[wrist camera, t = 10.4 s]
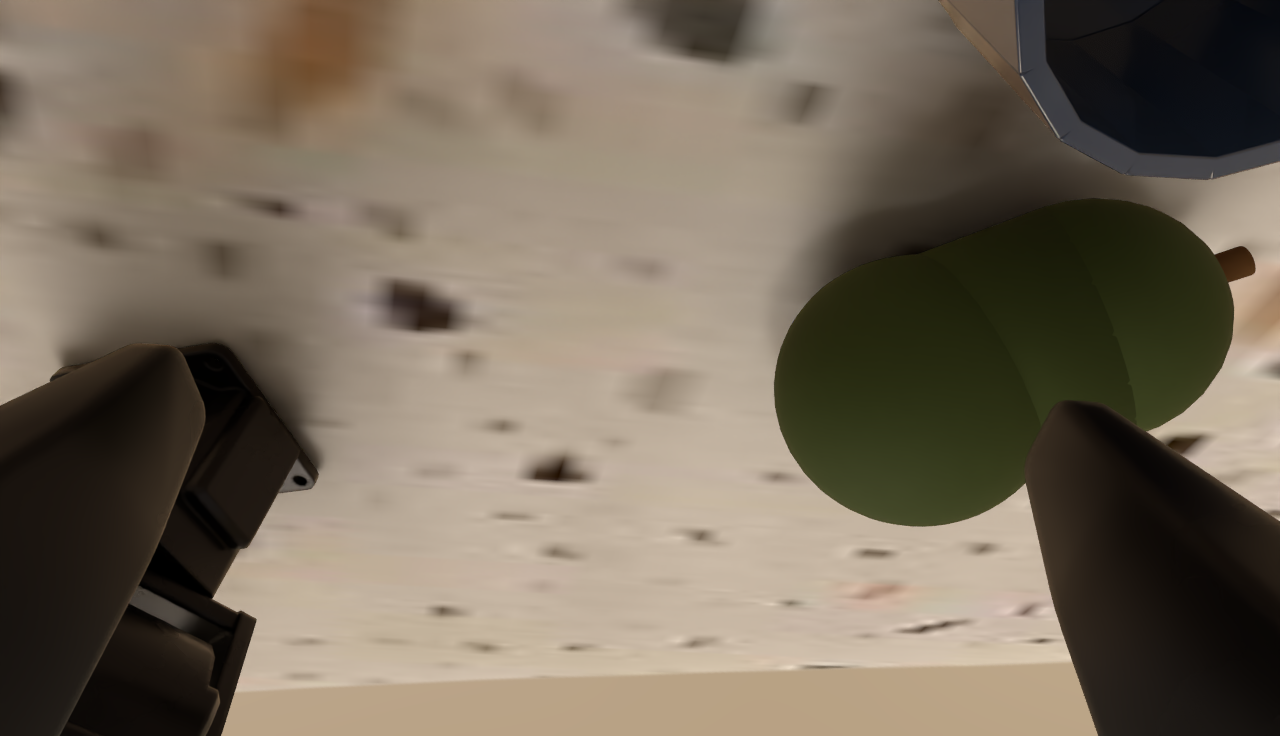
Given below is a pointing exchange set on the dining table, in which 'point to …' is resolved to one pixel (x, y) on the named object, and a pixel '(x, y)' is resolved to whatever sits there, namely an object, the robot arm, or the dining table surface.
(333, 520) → the dining table surface
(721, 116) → the dining table surface
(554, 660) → the dining table surface
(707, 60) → the dining table surface
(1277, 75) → the blue coffee mug
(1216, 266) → the avocado
